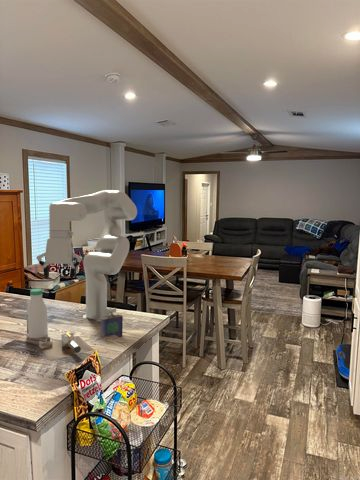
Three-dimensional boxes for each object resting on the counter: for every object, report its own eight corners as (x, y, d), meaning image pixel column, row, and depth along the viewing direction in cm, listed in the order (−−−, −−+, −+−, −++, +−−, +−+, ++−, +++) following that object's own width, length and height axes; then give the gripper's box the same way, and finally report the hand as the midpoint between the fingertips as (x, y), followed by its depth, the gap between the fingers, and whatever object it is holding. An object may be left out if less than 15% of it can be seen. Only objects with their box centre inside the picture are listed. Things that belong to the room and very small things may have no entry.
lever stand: (78, 339, 144) (78, 328, 144) (93, 353, 133) (93, 340, 132) (37, 349, 135) (36, 336, 134) (49, 364, 123) (49, 351, 122)
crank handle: (59, 345, 135) (59, 332, 134) (71, 342, 137) (70, 330, 137) (72, 358, 124) (72, 345, 124) (84, 355, 127) (84, 342, 126)
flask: (101, 341, 144) (101, 315, 142) (99, 338, 146) (99, 313, 145) (123, 336, 148) (123, 312, 147) (120, 334, 151) (121, 309, 150)
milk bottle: (51, 335, 147) (50, 288, 145) (38, 343, 140) (37, 293, 137) (36, 333, 150) (35, 286, 147) (22, 339, 143) (21, 291, 140)
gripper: (83, 234, 144) (83, 276, 146) (39, 233, 142) (39, 275, 144) (80, 236, 137) (80, 280, 138) (33, 234, 135) (33, 279, 137)
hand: (59, 277), depth 141 cm, fingers open, 9 cm apart
